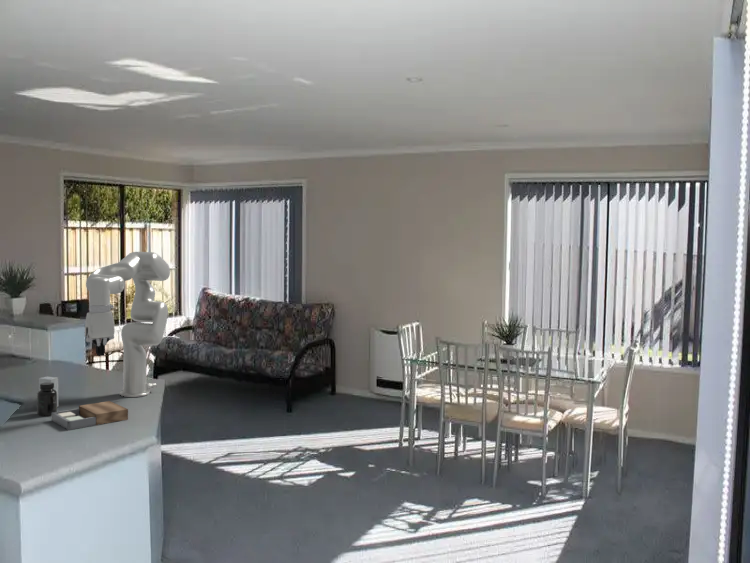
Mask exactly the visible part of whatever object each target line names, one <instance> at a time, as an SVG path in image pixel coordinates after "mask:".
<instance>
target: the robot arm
mask: <svg viewBox="0 0 750 563" xmlns="http://www.w3.org/2000/svg"><path fill="white" fill-rule="evenodd" d="M170 274H171V268H170V265H169V264H168V263H167V261H166V260H165V259H163V257H162V256H160V255H159V254H158V253H156V252H152V251H132V252H130V253H128V254H127V255H126V256H124V258H122V259H121V260H119V261H118V262H115V263H111V264H109V265H105V266H102V267H99V268H97V269H95V270H94V271H93V272H92V273H90V275H89V276H88V277H87V279H86V282H85V286H86V290H87V291H88V307H89V308H88V310H89V312H87V313H86V317H85V323H84V337H85V342H86V343H92V344H94V345H95V354H96V356H98V357H102V356H103V357H104V356H105V353H106V345H107V343H108V342H109V341H112V340H114V339H115V321H114V320H115V319H114V315H113V313H112V312H113V311H111V310H112V309H114V305H113V304H111V295H117V294H120V293H122V292H123V291H124V289H125V287H126V282H127V281H129V280H133V284H134V288H135V291H134V297H133V300H132V305H131V309H130V318H131V319H132V320H133V321H134V322H129V323H126V324H124V325H123V327H121V328H122V329H121V331H120V335H121V336H120V337H121V340H122V348H123V349H122V350H123V352H122V353H123V365H122V366H123V368H122V370H123V371H122V373H123V374H122V380H123V382H122V384H123V385H122V390H120V391H119V396H120V395H121V396H120V397H123V396H124V397H123V398H125V397H126V398H138V397H141V398H142V397H145V396H148V395H150V394H151V393H150V391H151V390H150V389H154V388H157V383H155V382H154V383H151V382H149V383H148V382H147V352H146V350H145V348H144V347H143V346H158V345H160V344H161V343H162V341H163V338H164V334H165V331H166V330H165V329H166V325H167V320H168V315H169V308H168V305H167V304H166V302H164V301H157V300H155V297H156V290H155V288H154V287H153V285H152V284H151V281H157V282H158V281H159V282H162V281H163V282H164V281H166V280H168V279H169V277H170Z"/></svg>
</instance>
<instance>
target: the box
mask: <svg viewBox="0 0 750 563" xmlns="http://www.w3.org/2000/svg"><path fill="white" fill-rule="evenodd" d="M65 412H72V413H74V414H75V416H80V415H79V407H78V408H73V409H67V410H61V411H57V412H52V416H51V421H52V422H53V423H56V424H57V425H59V426H60V425H61V426H60V427H62V428H64V429H65V428H66V430H67V431H71V430H76V429H83V428H88V427H87V426H89V427H93V425H94V426H97V425H96V417H89V418H84V417H82V416H80V417H82V418H84V419H78V420H72V421H70V420H68V419H66V418H64V417H62V416H60V415H59V413H65ZM82 427H83V428H82Z"/></svg>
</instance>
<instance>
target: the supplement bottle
mask: <svg viewBox="0 0 750 563" xmlns="http://www.w3.org/2000/svg"><path fill="white" fill-rule="evenodd" d="M53 388H54V383H52V382H46V383H41V384H40V389H41V390H40V391H39V390H38V392H37V393H36V394H37V395H36V412H37V416H39V417H52V412H58V407H57V391H56V390H54V389H53Z"/></svg>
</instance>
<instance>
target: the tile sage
mask: <svg viewBox="0 0 750 563" xmlns="http://www.w3.org/2000/svg"><path fill="white" fill-rule="evenodd" d="M66 419H68V420H70V421H72V420H78V419H84V418H82V417H80V416H75V417H69V418H66Z"/></svg>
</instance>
